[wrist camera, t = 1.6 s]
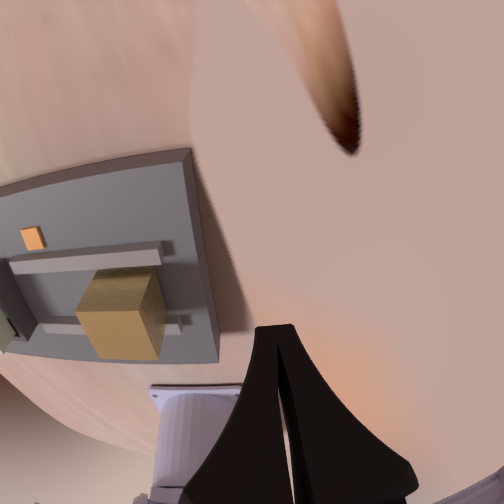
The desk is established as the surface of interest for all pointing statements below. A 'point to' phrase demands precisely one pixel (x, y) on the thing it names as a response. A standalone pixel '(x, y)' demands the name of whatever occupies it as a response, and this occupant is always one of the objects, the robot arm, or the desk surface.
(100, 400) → the desk surface
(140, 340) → the slider knob
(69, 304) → the control panel
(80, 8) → the desk surface
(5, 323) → the button sage
